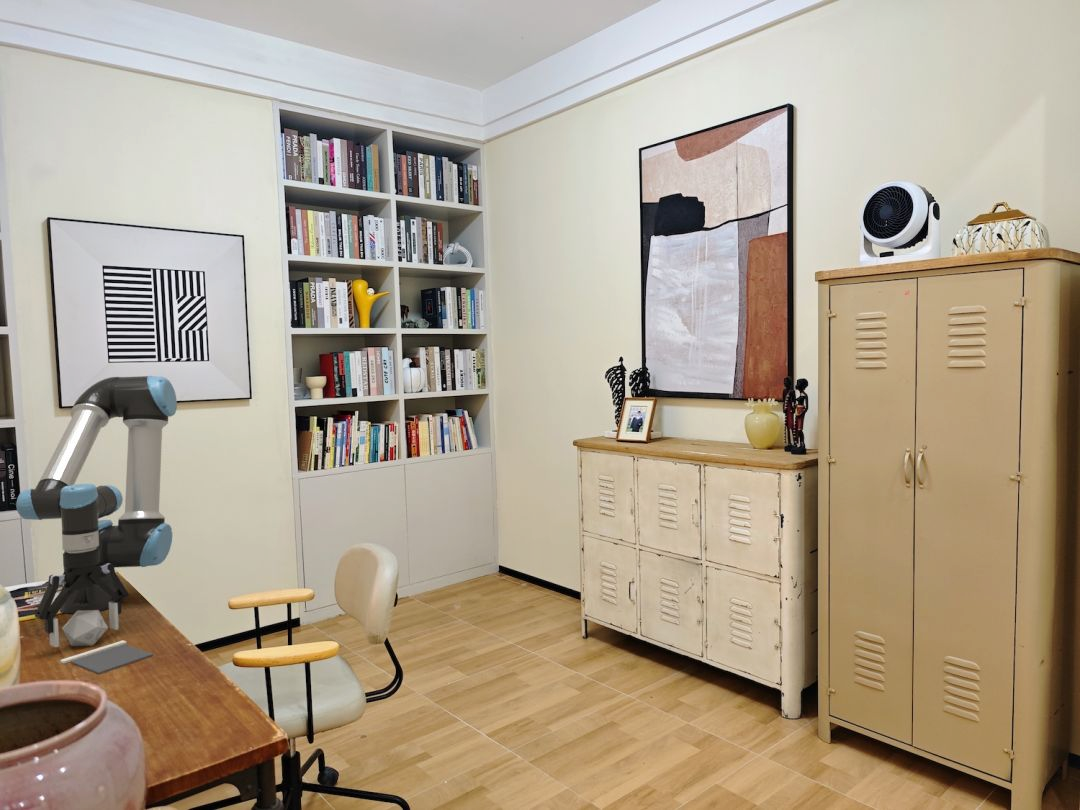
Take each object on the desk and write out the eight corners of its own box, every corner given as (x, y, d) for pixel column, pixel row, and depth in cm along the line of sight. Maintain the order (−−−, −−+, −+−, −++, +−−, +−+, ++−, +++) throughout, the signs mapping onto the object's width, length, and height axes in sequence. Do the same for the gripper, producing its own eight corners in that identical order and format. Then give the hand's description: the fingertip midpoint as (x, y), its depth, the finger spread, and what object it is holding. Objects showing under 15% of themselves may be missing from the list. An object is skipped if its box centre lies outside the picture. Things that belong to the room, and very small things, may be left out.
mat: (123, 642, 180) (122, 640, 180) (157, 654, 172) (157, 652, 172) (60, 662, 169) (60, 659, 169) (93, 675, 161) (93, 673, 161)
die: (75, 655, 174) (103, 618, 177) (47, 636, 175) (75, 599, 178) (95, 655, 182) (121, 620, 185) (68, 636, 183) (94, 601, 186)
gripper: (30, 563, 167) (35, 656, 167) (141, 540, 187) (145, 624, 188) (15, 558, 171) (19, 650, 172) (125, 537, 191) (129, 619, 192)
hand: (85, 637), depth 180 cm, fingers open, 13 cm apart
